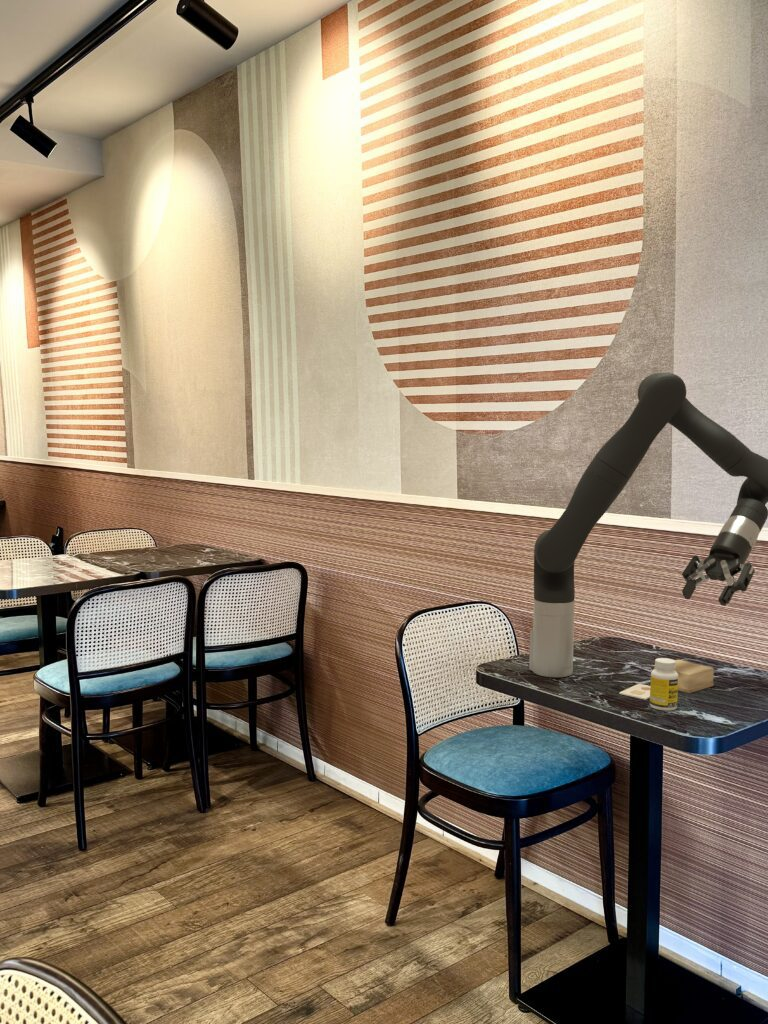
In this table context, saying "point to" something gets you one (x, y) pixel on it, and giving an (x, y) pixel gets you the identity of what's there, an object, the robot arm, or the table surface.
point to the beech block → (693, 676)
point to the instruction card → (637, 691)
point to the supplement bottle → (664, 685)
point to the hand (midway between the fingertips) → (703, 600)
